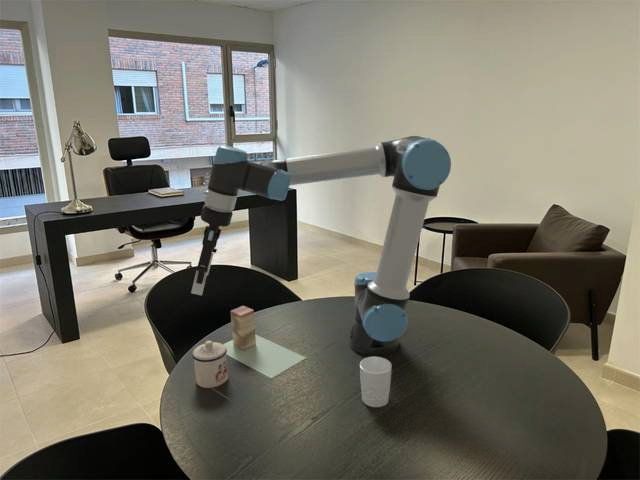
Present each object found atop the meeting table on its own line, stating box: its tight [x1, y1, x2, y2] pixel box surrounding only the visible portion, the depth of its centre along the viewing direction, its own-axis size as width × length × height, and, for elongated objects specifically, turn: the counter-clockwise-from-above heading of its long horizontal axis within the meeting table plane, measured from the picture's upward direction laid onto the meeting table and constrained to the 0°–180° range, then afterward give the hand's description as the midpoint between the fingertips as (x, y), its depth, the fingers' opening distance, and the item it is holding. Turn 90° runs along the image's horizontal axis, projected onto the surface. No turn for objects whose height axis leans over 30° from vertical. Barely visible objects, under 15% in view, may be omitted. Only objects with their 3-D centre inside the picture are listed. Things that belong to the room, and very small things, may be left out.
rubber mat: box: [223, 333, 307, 381], centre depth 140 cm, size 26×14×1 cm, turn 48°
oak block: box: [230, 305, 256, 351], centre depth 143 cm, size 5×5×12 cm
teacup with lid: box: [192, 340, 229, 389], centre depth 127 cm, size 12×9×12 cm
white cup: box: [359, 356, 393, 408], centre depth 116 cm, size 8×8×10 cm
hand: (200, 283), depth 122 cm, fingers open, 13 cm apart
